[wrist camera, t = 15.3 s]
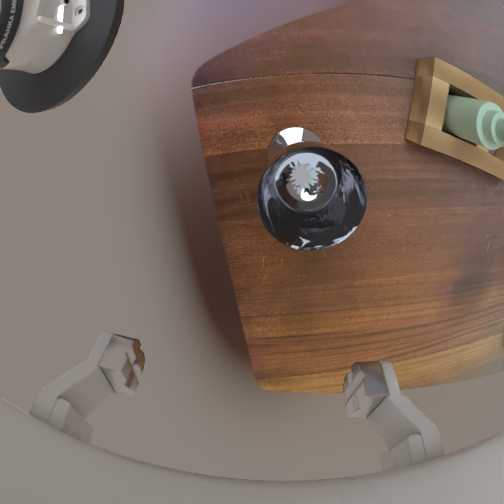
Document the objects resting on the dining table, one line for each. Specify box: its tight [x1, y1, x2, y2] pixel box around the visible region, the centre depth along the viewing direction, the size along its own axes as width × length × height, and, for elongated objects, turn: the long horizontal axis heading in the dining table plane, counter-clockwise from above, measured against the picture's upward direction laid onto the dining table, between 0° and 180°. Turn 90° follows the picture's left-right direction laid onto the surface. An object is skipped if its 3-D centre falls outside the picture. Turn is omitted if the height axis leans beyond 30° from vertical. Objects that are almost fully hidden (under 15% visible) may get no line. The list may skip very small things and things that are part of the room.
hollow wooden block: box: [405, 57, 504, 180], centre depth 24 cm, size 11×20×4 cm, turn 84°
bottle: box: [442, 95, 504, 150], centre depth 20 cm, size 5×5×15 cm
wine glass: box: [257, 127, 367, 250], centre depth 26 cm, size 8×8×15 cm
